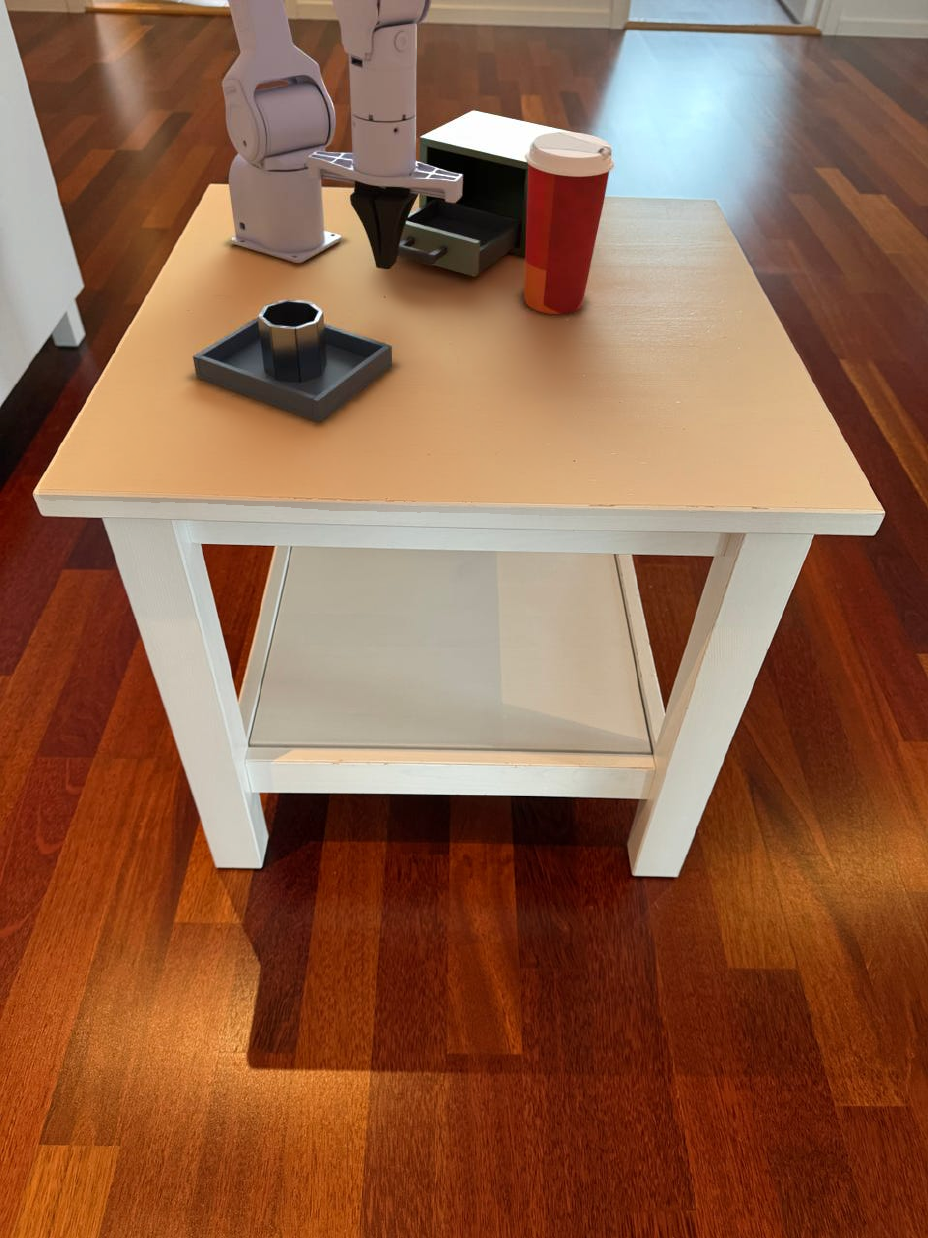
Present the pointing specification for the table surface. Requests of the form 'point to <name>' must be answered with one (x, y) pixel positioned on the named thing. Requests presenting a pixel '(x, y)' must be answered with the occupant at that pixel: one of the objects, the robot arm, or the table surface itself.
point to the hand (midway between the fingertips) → (386, 264)
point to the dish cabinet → (486, 162)
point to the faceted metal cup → (292, 340)
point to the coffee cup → (563, 217)
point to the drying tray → (315, 399)
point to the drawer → (457, 236)
